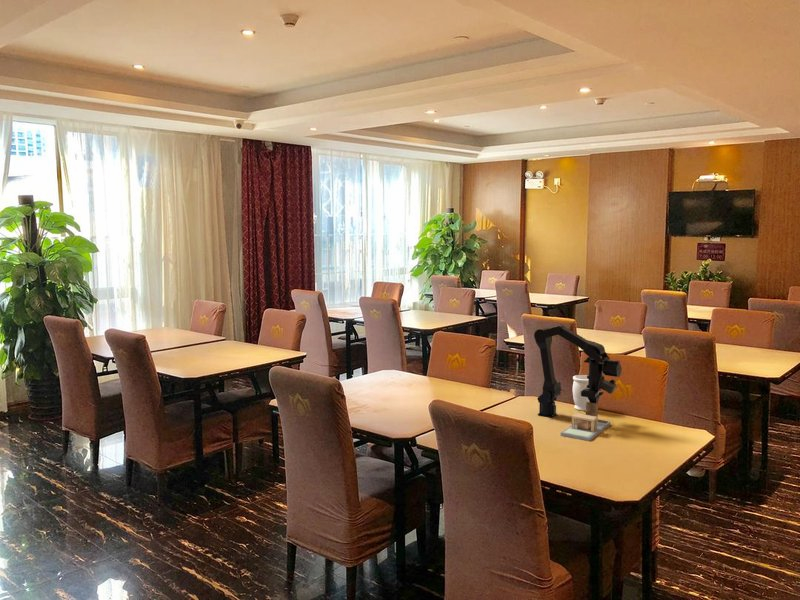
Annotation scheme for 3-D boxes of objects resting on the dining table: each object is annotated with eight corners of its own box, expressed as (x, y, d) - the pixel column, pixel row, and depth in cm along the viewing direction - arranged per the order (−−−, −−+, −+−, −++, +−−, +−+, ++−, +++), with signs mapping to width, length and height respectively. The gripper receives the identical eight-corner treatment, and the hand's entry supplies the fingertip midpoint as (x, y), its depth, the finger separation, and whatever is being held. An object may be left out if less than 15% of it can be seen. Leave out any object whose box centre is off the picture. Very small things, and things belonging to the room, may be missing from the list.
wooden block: (577, 427, 270) (577, 407, 269) (586, 421, 279) (586, 401, 278) (588, 430, 267) (588, 409, 266) (597, 423, 276) (598, 403, 275)
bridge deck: (560, 435, 265) (560, 420, 264) (583, 419, 286) (583, 405, 285) (589, 441, 258) (589, 425, 257) (610, 424, 279) (610, 410, 278)
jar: (597, 411, 298) (598, 379, 296) (575, 411, 298) (576, 380, 296) (591, 405, 309) (592, 374, 307) (569, 405, 309) (570, 374, 307)
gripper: (607, 380, 265) (606, 417, 267) (621, 371, 280) (619, 407, 282) (580, 376, 272) (579, 413, 273) (595, 368, 287) (594, 403, 289)
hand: (594, 409), depth 279 cm, fingers closed
